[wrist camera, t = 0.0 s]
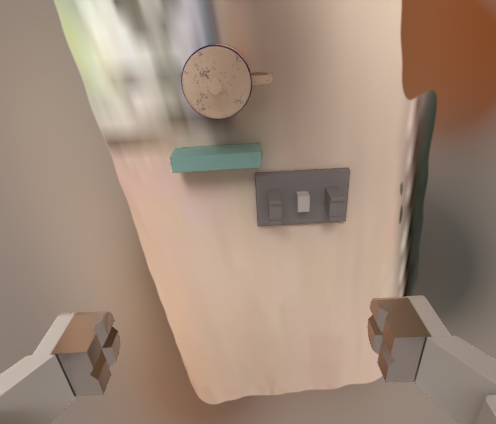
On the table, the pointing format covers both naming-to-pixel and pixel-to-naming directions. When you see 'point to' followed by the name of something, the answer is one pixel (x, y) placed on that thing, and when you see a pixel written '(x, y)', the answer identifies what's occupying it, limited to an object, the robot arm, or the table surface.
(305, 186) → the display stand
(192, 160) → the frame bar
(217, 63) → the teacup with lid
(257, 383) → the table surface
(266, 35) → the table surface
